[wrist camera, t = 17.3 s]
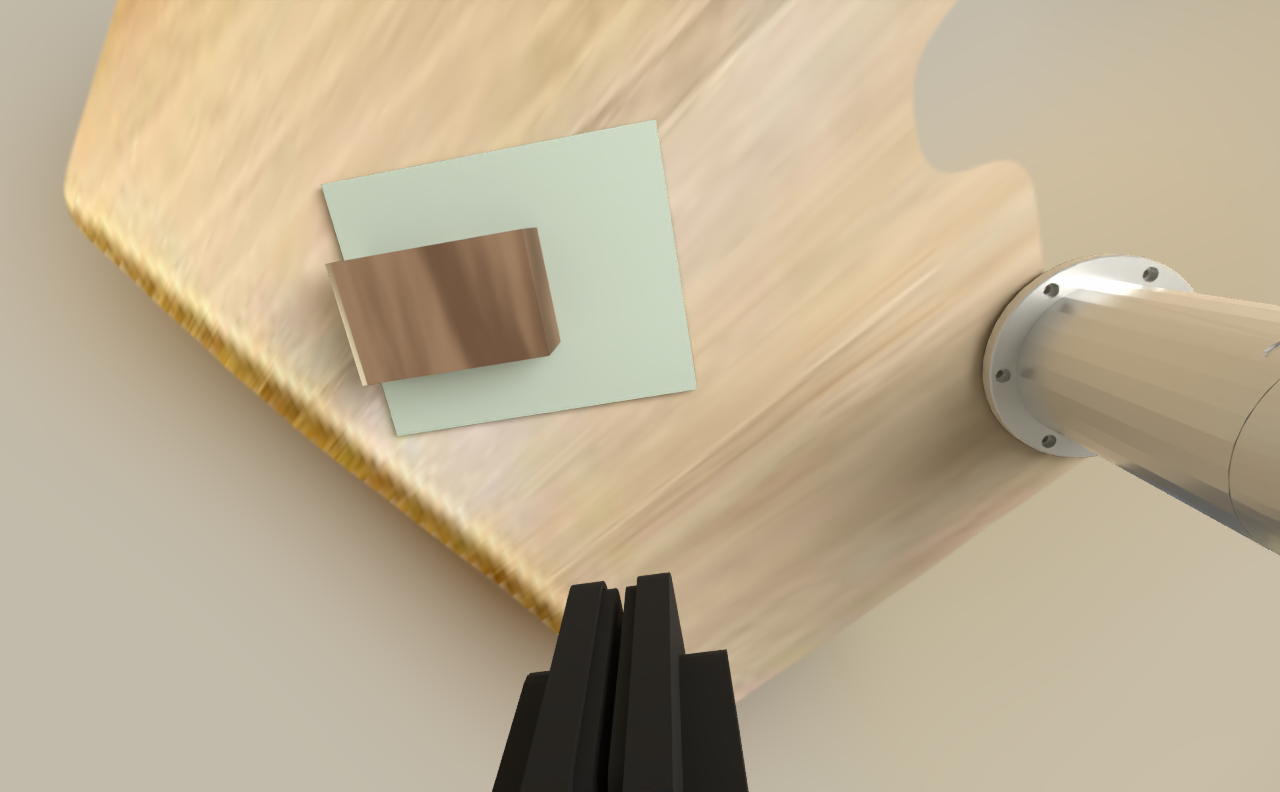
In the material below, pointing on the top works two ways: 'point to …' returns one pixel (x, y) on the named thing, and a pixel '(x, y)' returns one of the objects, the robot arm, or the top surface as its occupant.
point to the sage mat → (574, 260)
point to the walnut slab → (446, 306)
